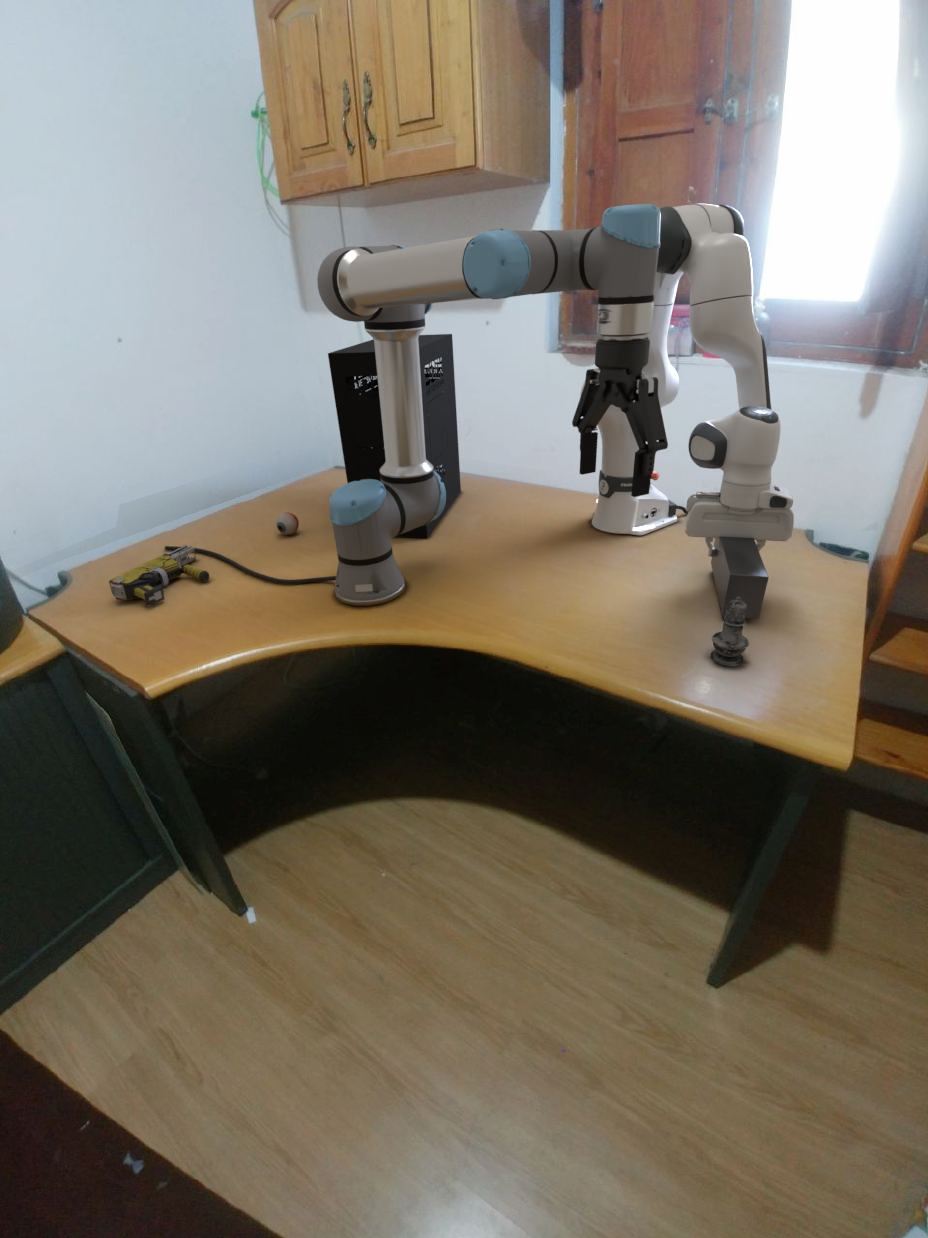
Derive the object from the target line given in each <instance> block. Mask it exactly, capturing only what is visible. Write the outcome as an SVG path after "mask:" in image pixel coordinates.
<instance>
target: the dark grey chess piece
mask: <svg viewBox="0 0 928 1238" xmlns="http://www.w3.org/2000/svg"><path fill="white" fill-rule="evenodd" d="M740 599H741V598H740V596H738V597H737V599H736V600H732V601H730V602H729V603H728V606H727V612H726V616H722V622H723V624H722V630H720V631H717V632H715V633H713V634H712V635H711V641H712V645H713V648H714V649H713V650H712V651H711V652H710V658H711V660H712V661H713V662H715V663H717V664H719V665H721V666H725V667H738V666H740V665H742V664H743V663H744V656H743V655H742V654H743V653H744V652H745V651H746V649H747V648H748V647H749V646H750V640H749V639H748V638H747V637H746V636H745V635H743V629H744V626H745V625H747V620H746V618H745V613H746V609H747V605H746V603H745V602H743V601H741V600H740Z"/></svg>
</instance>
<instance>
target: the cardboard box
mask: <svg viewBox="0 0 928 1238" xmlns="http://www.w3.org/2000/svg"><path fill="white" fill-rule="evenodd" d="M418 343H419V359H420V375H421V391H422V407H423V422H424V438H425V454H426V460H428V461H429V462H430V463H431V464H432V465H433V469H434V471H435V472H436V473H437V474H438V475H439V476H440V477H441V483H444V486H445V490H446V502H445V506H444V509H443V511H442V513H441V514H440V515H439V516H438V517H437V518H436V519H435V520H433V521H431V522H429V523H428V524H426V525H424V526H420V527H417V528H415V529H412V530H410V531H408V532H405V533H403V534H400V535H398V536H395V537H396V538H397V537H398V538H399V537H400V538H421V539H428V538H429V537H430V535H432V533H433V531H434V530H435V529H436V527H437V526H438V524H439V523H440V521H441V520H442V518H443V517H445V514H446V513H447V512H448V510H449V509H450V508H451V507H452V505H453V504H454V502H455V501H456V499H457V498H458V497H459V495H460V494H461V493H462V488H461V469H460V451H459V435H458V434H459V433H458V416H457V415H458V414H457V413H458V412H457V397H456V396H457V395H456V379H455V378H456V377H455V361H454V342H453V333H442V334H441V333H440V334H439V333H437V334H420V335H419V337H418ZM327 358H328V365H329V370H330V378H331V383H332V390H333V397H334V403H335V410H336V416H337V423H338V430H339V434H340V435H339V436H340V443H341V450H342V455H343V463H344V469H345V476H346V484H347V483H350V482H353V481H360V480H363V479H374V480H378V481H380V482H381V479H380V468H381V467H382V465H383V464H384V463H385V461H386V458H385V448H384V438H383V427H382V417H381V407H380V397H379V387H378V377H377V366H376V356H375V346H374V339H373V338H372V339H370V340H367V341H364V342H359V343H357V344H354V345H351V346H347V347H344V348H341V349H337V350H334V351H331V352H328V353H327ZM395 537H394V538H395Z"/></svg>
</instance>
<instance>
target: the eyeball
mask: <svg viewBox="0 0 928 1238" xmlns="http://www.w3.org/2000/svg"><path fill="white" fill-rule="evenodd" d="M299 525H300V522H299V519H298V517H297V516H296V515H295V514H294V513H292V512H287V511H286V512H282V513H280V514H279V515H278V516H277V517H276V520H275V527H276V529H277V530H278V531H279V532H280V533H281V534H282V535H285V536H286V535H287V536H289V535H293V534H295V533H296V532H297V531H298V529H299Z"/></svg>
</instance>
